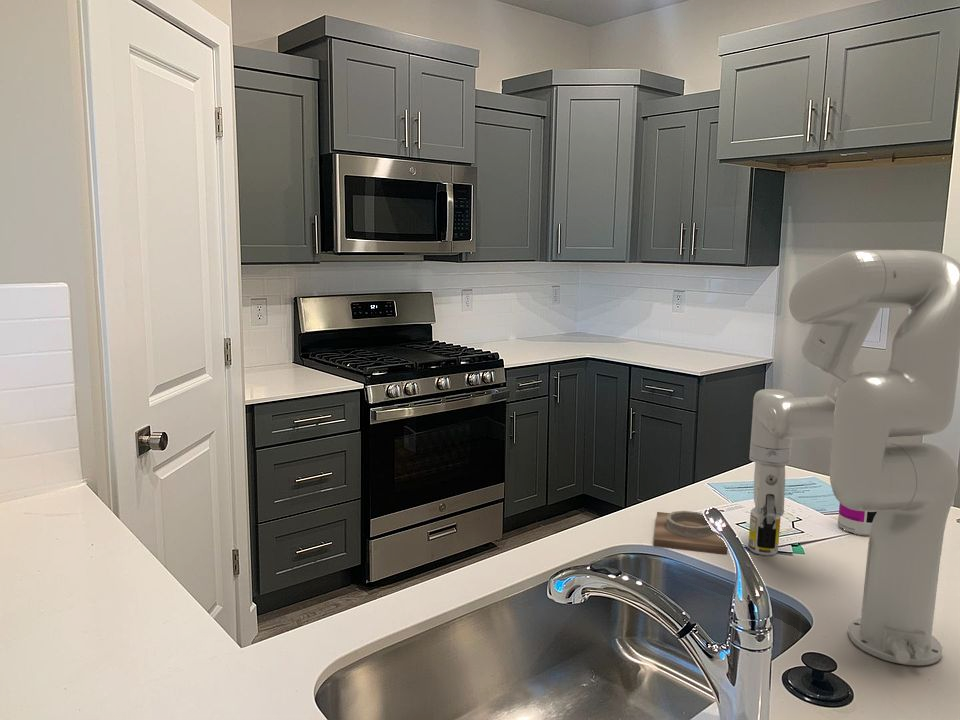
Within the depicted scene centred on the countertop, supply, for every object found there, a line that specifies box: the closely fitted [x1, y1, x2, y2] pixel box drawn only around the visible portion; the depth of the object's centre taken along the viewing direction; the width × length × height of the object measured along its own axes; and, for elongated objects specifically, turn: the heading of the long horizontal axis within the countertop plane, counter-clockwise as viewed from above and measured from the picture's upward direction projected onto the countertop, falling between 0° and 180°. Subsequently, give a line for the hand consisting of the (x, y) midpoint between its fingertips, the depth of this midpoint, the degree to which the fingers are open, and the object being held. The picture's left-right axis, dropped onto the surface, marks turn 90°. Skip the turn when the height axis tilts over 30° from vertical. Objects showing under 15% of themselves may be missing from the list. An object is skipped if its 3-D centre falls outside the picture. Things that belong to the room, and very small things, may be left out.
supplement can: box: [837, 502, 878, 537], centre depth 162 cm, size 8×8×15 cm
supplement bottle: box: [748, 505, 782, 556], centre depth 150 cm, size 6×6×10 cm
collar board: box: [653, 510, 728, 555], centre depth 158 cm, size 16×14×4 cm
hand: (763, 538), depth 151 cm, fingers open, 7 cm apart
